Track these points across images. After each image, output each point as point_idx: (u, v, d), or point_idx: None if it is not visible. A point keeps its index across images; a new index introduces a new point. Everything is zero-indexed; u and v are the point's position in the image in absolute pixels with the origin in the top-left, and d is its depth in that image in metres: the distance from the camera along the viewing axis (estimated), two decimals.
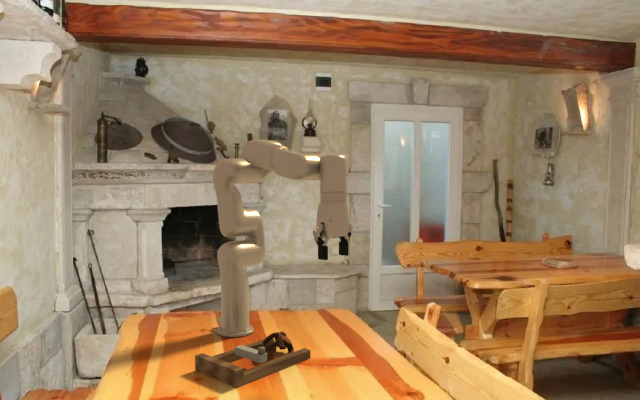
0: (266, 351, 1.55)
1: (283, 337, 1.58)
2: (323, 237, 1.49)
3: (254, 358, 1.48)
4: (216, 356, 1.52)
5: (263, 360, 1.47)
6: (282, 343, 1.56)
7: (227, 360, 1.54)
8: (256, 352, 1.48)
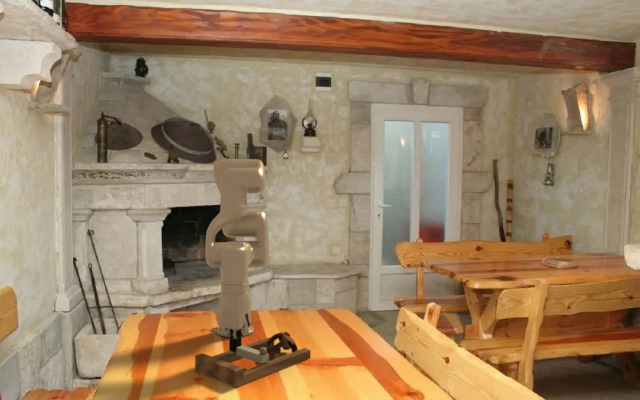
0: (270, 352, 1.55)
1: (287, 337, 1.58)
2: None
3: (256, 359, 1.47)
4: (216, 356, 1.52)
5: (264, 360, 1.46)
6: (286, 343, 1.55)
7: (227, 360, 1.54)
8: (258, 353, 1.48)
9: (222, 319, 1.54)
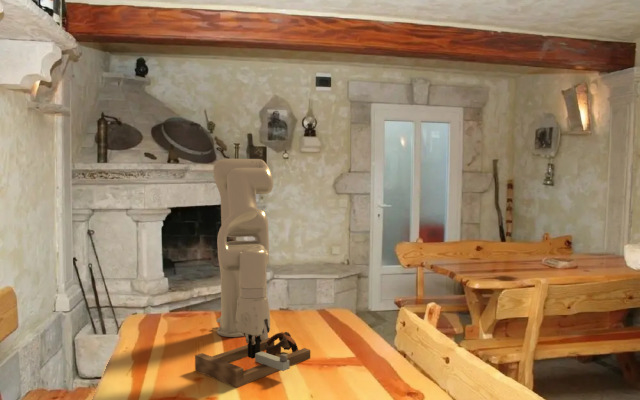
0: (271, 351, 1.55)
1: (288, 337, 1.58)
2: None
3: (276, 366, 1.42)
4: (216, 356, 1.52)
5: (285, 367, 1.41)
6: (287, 343, 1.55)
7: (227, 360, 1.54)
8: (278, 359, 1.43)
9: (240, 324, 1.48)
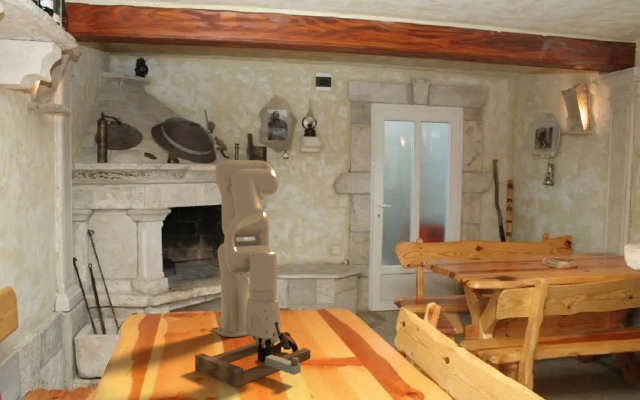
0: (271, 351, 1.55)
1: (288, 337, 1.58)
2: None
3: (287, 369, 1.39)
4: (216, 356, 1.52)
5: (296, 371, 1.38)
6: (287, 343, 1.55)
7: (227, 360, 1.54)
8: (289, 363, 1.40)
9: (250, 327, 1.46)
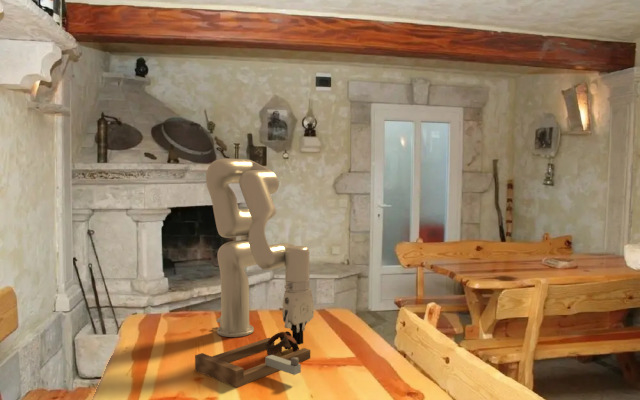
0: (272, 351, 1.55)
1: (288, 337, 1.58)
2: None
3: (287, 369, 1.39)
4: (216, 356, 1.52)
5: (296, 371, 1.38)
6: (288, 343, 1.56)
7: (227, 360, 1.54)
8: (289, 363, 1.40)
9: (299, 317, 1.62)
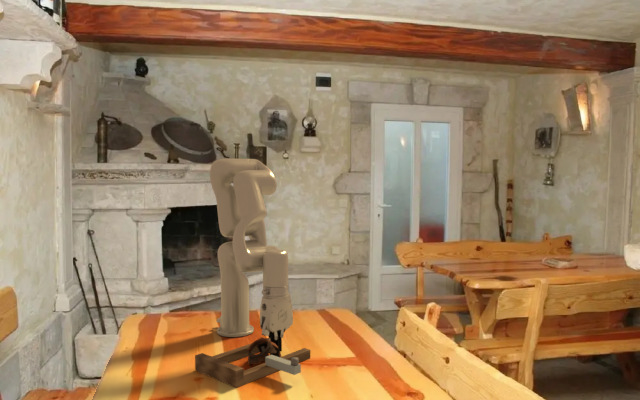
0: (258, 359, 1.48)
1: (271, 342, 1.53)
2: None
3: (287, 369, 1.39)
4: (216, 356, 1.52)
5: (296, 371, 1.38)
6: (273, 348, 1.50)
7: (227, 360, 1.54)
8: (289, 363, 1.40)
9: (277, 323, 1.55)
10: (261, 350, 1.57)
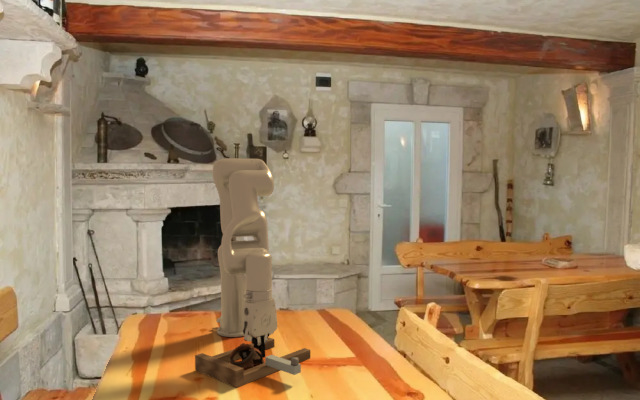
0: (241, 366, 1.44)
1: (254, 348, 1.48)
2: None
3: (287, 369, 1.39)
4: (216, 356, 1.52)
5: (296, 371, 1.38)
6: (257, 354, 1.46)
7: (227, 360, 1.54)
8: (289, 363, 1.40)
9: (259, 329, 1.50)
10: (243, 356, 1.52)
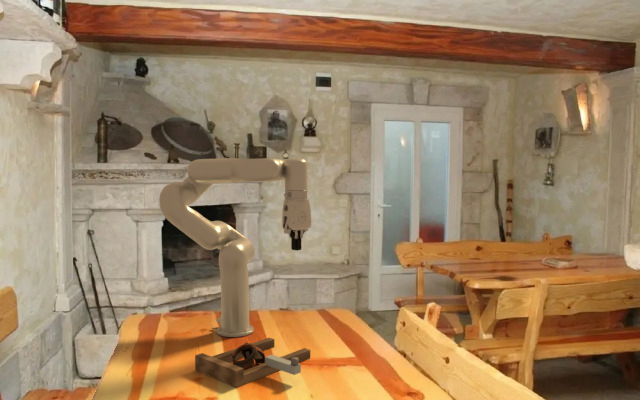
0: (243, 365, 1.44)
1: (256, 348, 1.49)
2: (299, 230, 1.80)
3: (287, 369, 1.39)
4: (216, 356, 1.52)
5: (296, 371, 1.38)
6: (258, 354, 1.46)
7: (227, 360, 1.54)
8: (289, 363, 1.40)
9: (297, 223, 1.75)
10: (245, 356, 1.52)
